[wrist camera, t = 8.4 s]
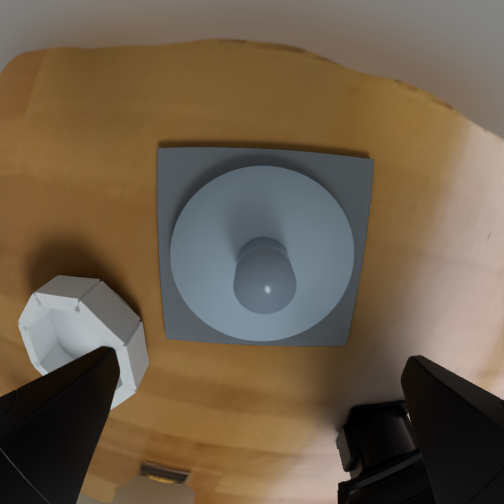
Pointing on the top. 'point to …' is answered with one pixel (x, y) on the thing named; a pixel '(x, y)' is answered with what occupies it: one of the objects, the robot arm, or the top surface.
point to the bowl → (84, 329)
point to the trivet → (228, 159)
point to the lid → (262, 253)
